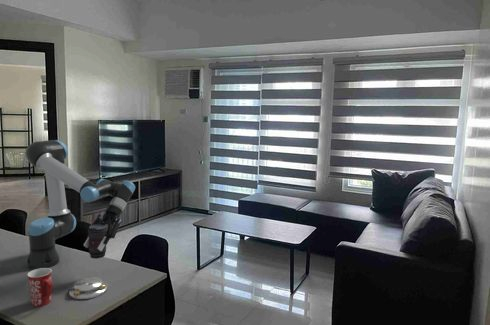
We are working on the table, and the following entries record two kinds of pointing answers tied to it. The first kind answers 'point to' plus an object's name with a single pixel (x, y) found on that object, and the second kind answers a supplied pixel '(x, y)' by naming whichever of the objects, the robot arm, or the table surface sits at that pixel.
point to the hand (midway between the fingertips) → (92, 248)
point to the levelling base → (87, 293)
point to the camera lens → (96, 240)
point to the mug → (40, 286)
